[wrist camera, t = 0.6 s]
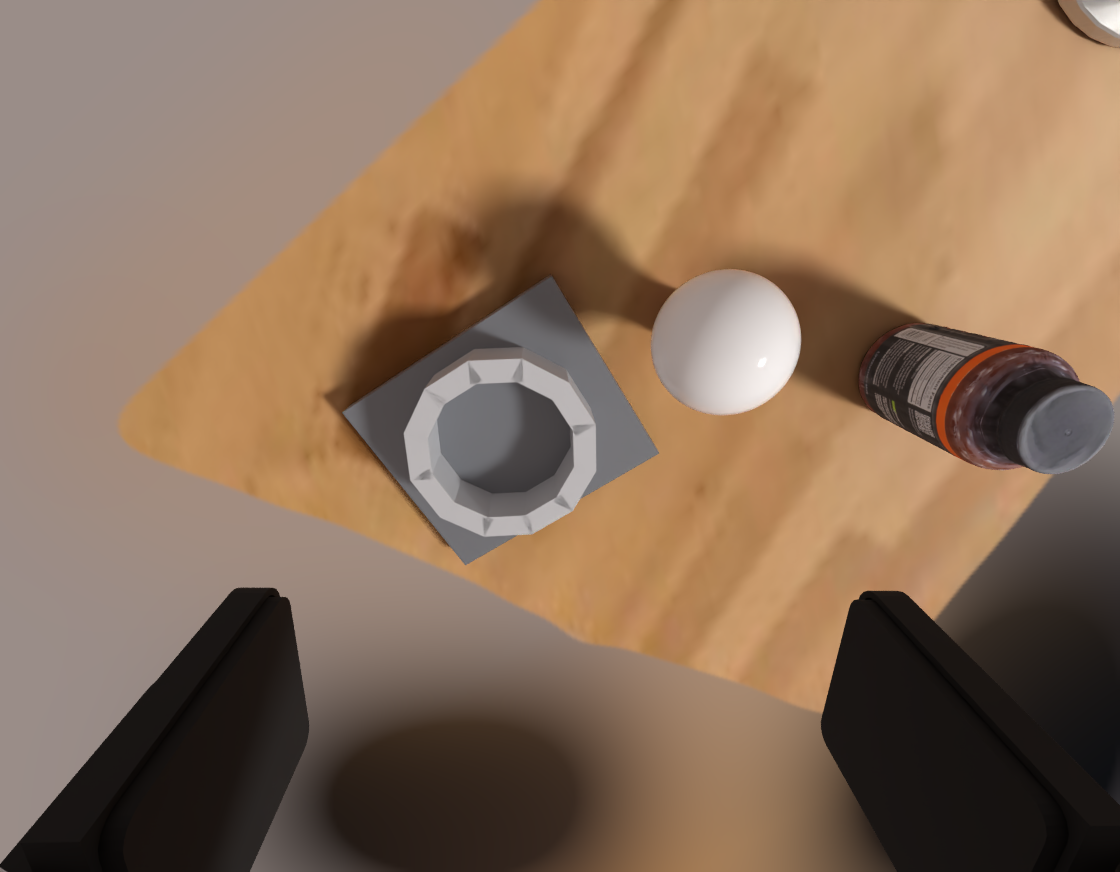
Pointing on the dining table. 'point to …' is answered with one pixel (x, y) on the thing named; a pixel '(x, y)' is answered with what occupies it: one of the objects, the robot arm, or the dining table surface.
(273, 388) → the dining table surface
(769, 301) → the lightbulb
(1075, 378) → the supplement bottle
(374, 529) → the dining table surface
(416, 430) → the socket holder
